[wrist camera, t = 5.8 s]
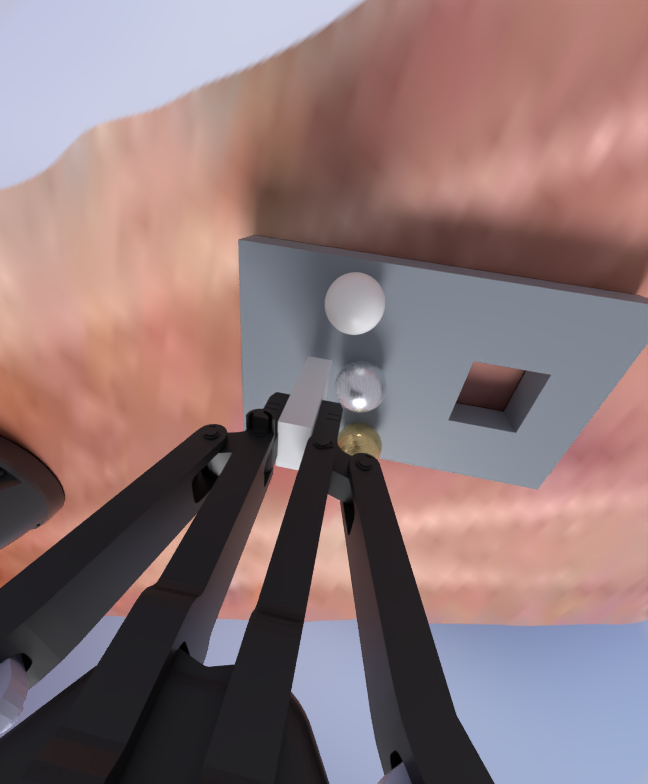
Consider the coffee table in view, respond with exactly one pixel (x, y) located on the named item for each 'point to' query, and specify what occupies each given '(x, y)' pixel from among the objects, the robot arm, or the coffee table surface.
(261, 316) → the board
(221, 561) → the robot arm
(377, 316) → the white ball
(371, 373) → the steel ball
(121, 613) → the coffee table surface
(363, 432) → the brass ball
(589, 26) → the coffee table surface
